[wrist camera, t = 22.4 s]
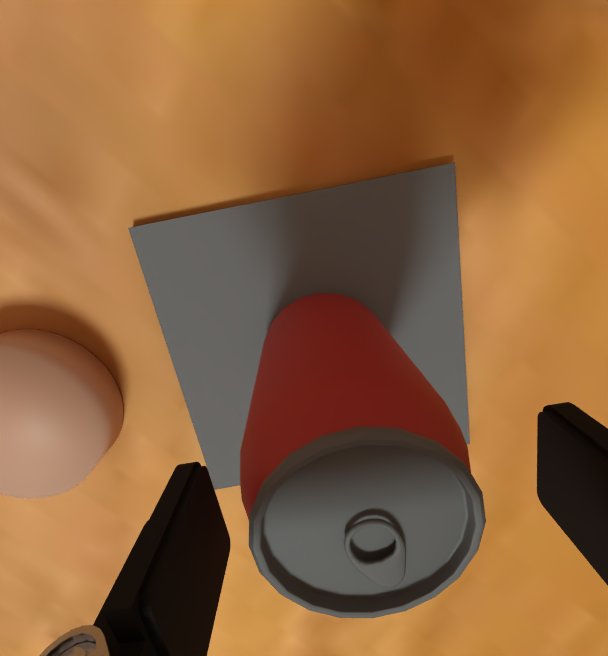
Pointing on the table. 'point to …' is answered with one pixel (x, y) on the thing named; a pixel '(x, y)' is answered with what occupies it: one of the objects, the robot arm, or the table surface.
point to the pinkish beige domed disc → (52, 413)
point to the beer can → (353, 467)
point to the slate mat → (305, 288)
